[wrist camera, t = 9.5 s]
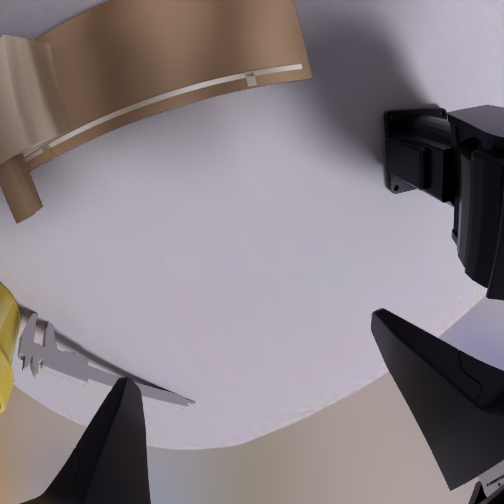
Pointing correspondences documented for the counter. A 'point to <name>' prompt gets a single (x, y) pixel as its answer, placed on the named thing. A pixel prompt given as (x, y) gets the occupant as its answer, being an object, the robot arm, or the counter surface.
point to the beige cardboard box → (26, 117)
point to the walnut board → (166, 59)
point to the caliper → (80, 367)
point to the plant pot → (7, 342)
